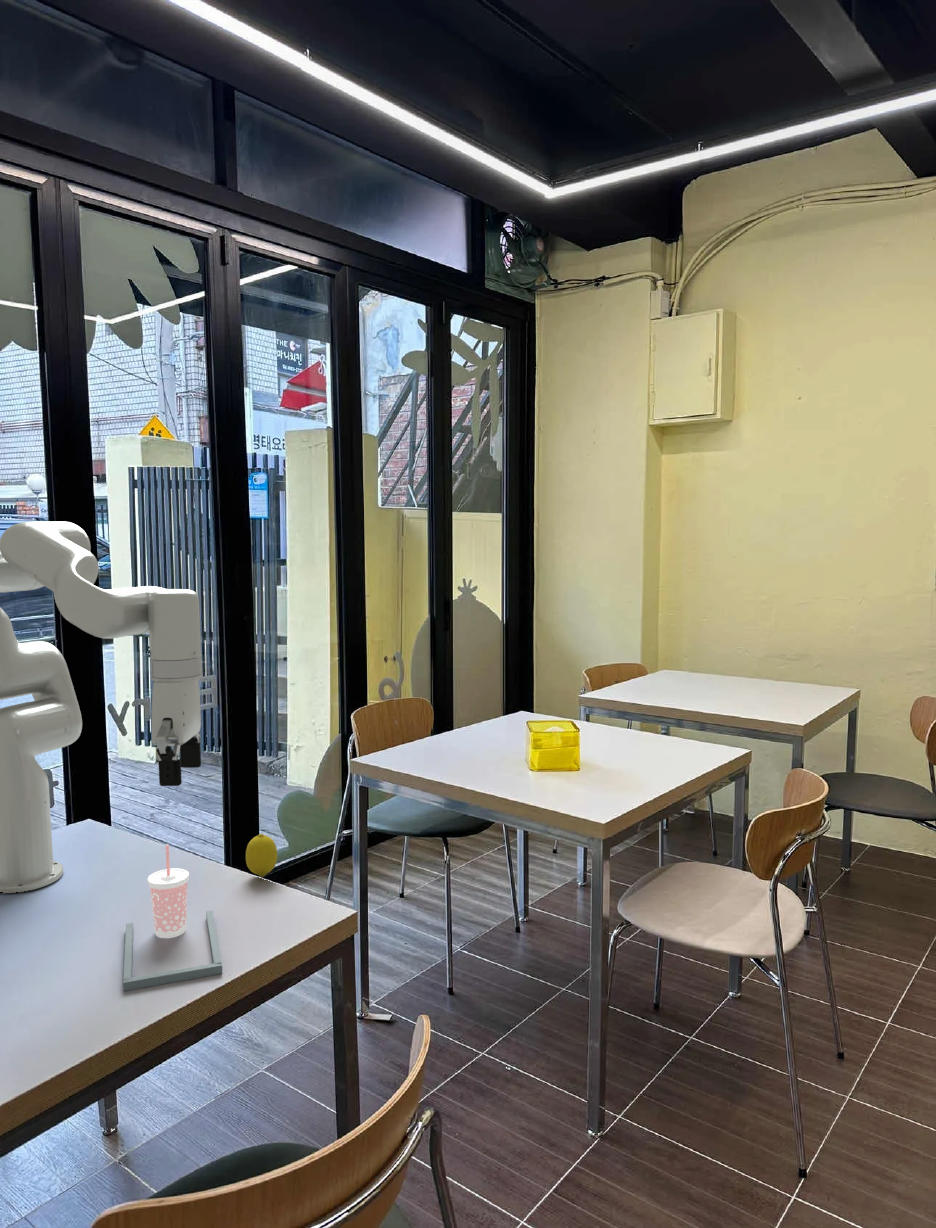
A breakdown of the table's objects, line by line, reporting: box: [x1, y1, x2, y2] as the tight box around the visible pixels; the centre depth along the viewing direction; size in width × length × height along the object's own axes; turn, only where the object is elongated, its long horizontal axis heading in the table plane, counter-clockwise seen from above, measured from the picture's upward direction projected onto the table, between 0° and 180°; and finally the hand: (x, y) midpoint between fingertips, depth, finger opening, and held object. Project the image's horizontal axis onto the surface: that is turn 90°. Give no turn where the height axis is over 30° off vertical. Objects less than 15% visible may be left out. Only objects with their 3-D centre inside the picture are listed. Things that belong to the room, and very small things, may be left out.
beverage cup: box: [147, 843, 190, 939], centre depth 134 cm, size 6×6×14 cm
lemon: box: [245, 833, 278, 878], centre depth 155 cm, size 6×6×8 cm
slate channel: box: [122, 910, 223, 992], centre depth 129 cm, size 18×13×1 cm
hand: (181, 775), depth 136 cm, fingers open, 9 cm apart
